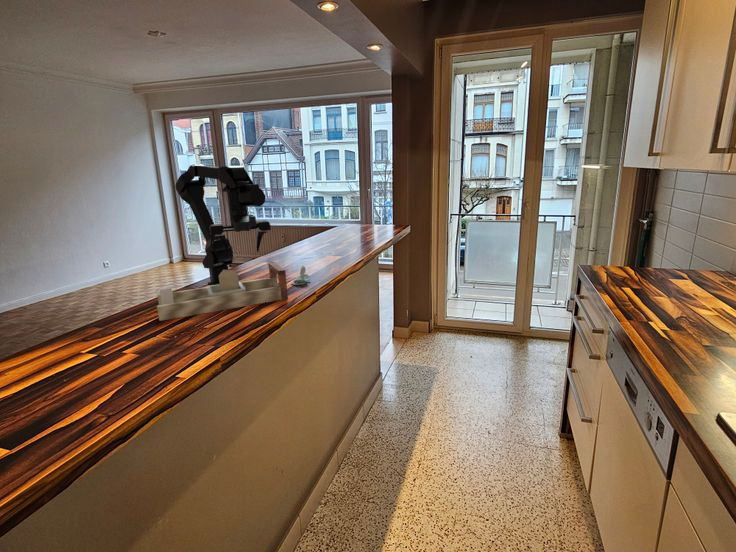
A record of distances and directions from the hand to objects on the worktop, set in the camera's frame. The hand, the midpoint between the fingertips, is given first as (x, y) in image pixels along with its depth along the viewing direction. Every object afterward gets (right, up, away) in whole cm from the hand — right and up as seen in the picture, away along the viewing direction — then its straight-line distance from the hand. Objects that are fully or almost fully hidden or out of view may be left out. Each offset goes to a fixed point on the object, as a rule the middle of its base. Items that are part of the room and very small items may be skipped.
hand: (243, 253), depth 135 cm
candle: (0, -15, -11) cm, 19 cm away
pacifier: (+18, -10, +7) cm, 22 cm away
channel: (-2, -16, -12) cm, 20 cm away
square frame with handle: (-7, -16, -14) cm, 23 cm away
